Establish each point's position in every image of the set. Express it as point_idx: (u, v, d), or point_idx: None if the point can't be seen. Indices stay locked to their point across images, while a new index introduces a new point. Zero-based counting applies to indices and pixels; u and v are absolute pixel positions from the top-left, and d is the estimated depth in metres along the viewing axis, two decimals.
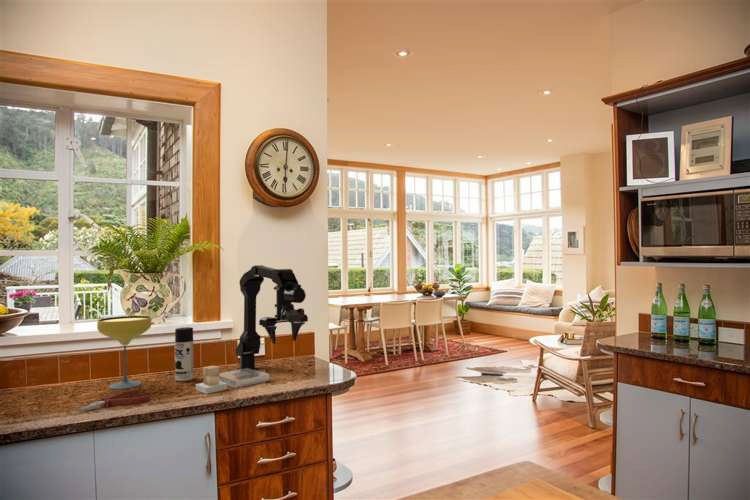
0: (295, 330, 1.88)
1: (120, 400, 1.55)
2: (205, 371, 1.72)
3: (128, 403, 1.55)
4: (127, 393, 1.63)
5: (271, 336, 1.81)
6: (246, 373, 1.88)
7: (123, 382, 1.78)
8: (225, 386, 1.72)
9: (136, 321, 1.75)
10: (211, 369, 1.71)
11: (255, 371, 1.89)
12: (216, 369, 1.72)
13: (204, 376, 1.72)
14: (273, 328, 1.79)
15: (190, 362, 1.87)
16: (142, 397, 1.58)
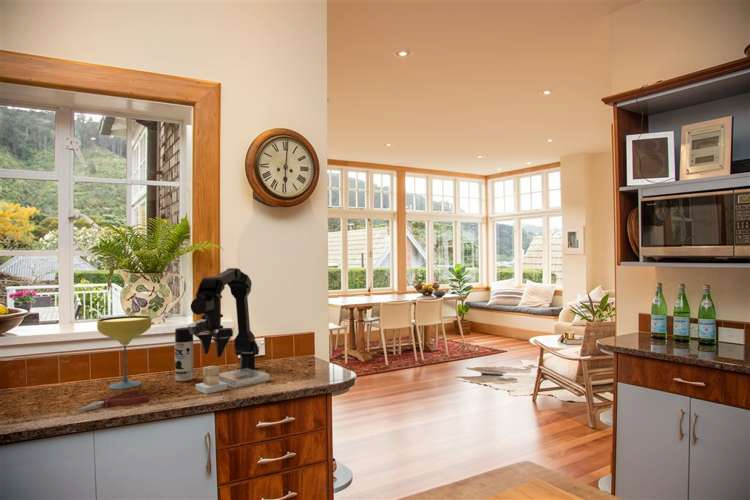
0: None
1: (119, 400, 1.54)
2: (205, 371, 1.72)
3: (127, 403, 1.55)
4: (126, 393, 1.63)
5: None
6: (246, 373, 1.88)
7: (123, 382, 1.78)
8: (225, 386, 1.72)
9: (136, 321, 1.75)
10: (211, 369, 1.71)
11: (255, 371, 1.89)
12: (216, 369, 1.72)
13: (204, 376, 1.72)
14: None
15: (190, 362, 1.87)
16: (141, 397, 1.57)
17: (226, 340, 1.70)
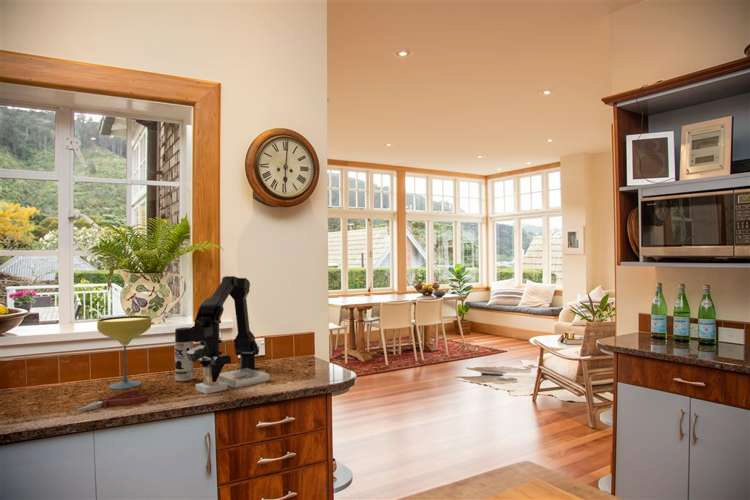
0: None
1: (118, 401, 1.54)
2: (205, 371, 1.72)
3: (126, 404, 1.55)
4: (125, 393, 1.63)
5: None
6: (246, 373, 1.88)
7: (123, 382, 1.78)
8: (225, 386, 1.72)
9: (136, 321, 1.75)
10: None
11: (255, 371, 1.89)
12: None
13: (204, 376, 1.72)
14: None
15: (190, 362, 1.87)
16: (140, 398, 1.57)
17: (221, 365, 1.71)
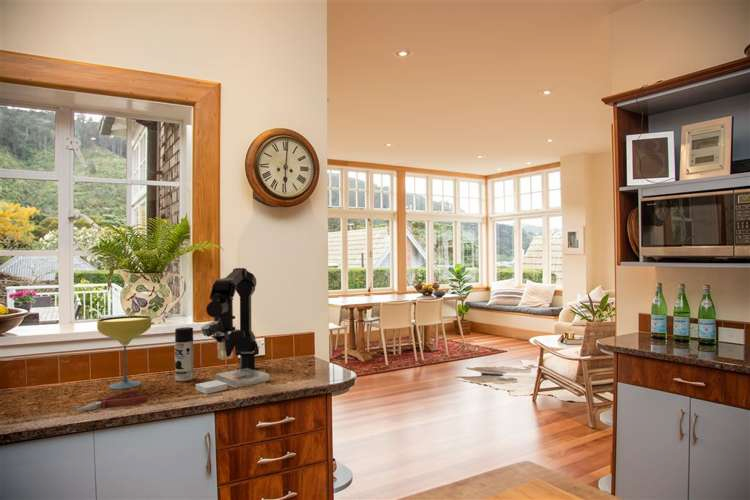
0: None
1: (117, 401, 1.54)
2: (219, 345, 1.77)
3: (125, 404, 1.54)
4: (124, 394, 1.63)
5: None
6: (246, 373, 1.88)
7: (123, 382, 1.78)
8: (225, 386, 1.72)
9: (136, 321, 1.75)
10: None
11: (255, 371, 1.89)
12: None
13: (218, 351, 1.78)
14: (214, 338, 1.79)
15: (190, 362, 1.87)
16: (139, 398, 1.57)
17: (235, 340, 1.77)
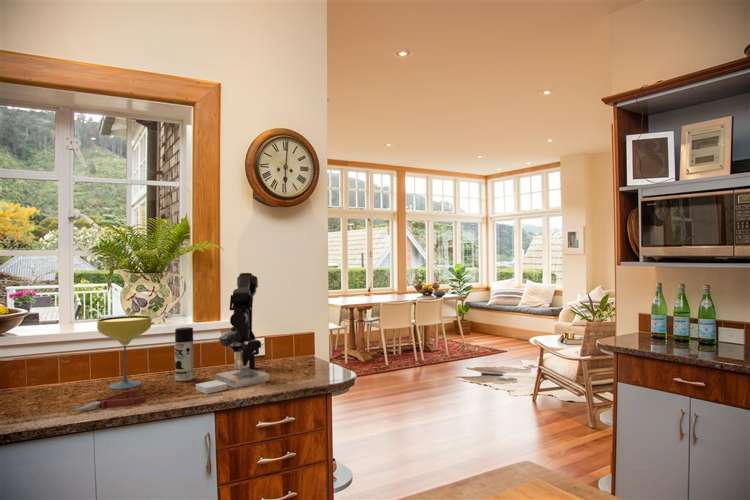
0: None
1: (116, 401, 1.54)
2: (236, 355, 1.84)
3: (124, 404, 1.54)
4: (123, 394, 1.63)
5: None
6: (246, 373, 1.88)
7: (123, 382, 1.78)
8: (225, 386, 1.72)
9: (136, 321, 1.75)
10: None
11: (255, 371, 1.89)
12: None
13: (235, 360, 1.84)
14: (230, 348, 1.86)
15: (190, 362, 1.87)
16: (138, 398, 1.57)
17: (251, 350, 1.83)
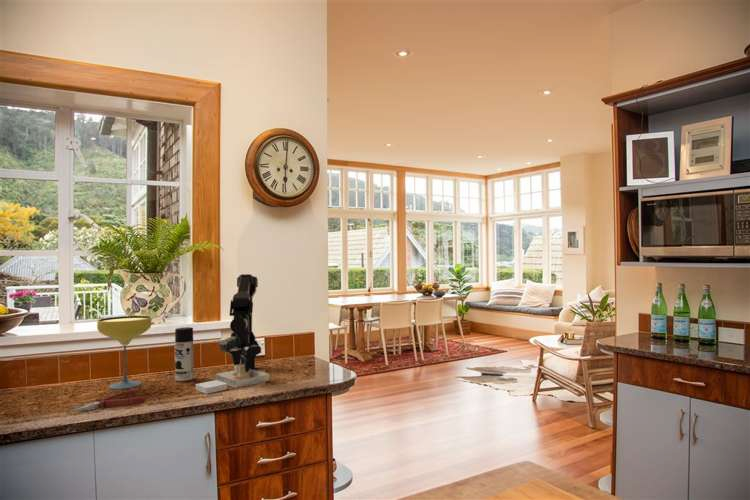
0: None
1: (115, 401, 1.54)
2: (236, 369, 1.84)
3: (123, 404, 1.54)
4: (123, 394, 1.62)
5: None
6: None
7: (123, 382, 1.78)
8: (225, 386, 1.72)
9: (136, 321, 1.75)
10: (242, 367, 1.83)
11: (255, 371, 1.89)
12: None
13: (235, 373, 1.84)
14: None
15: (190, 362, 1.87)
16: (137, 398, 1.57)
17: (253, 356, 1.82)
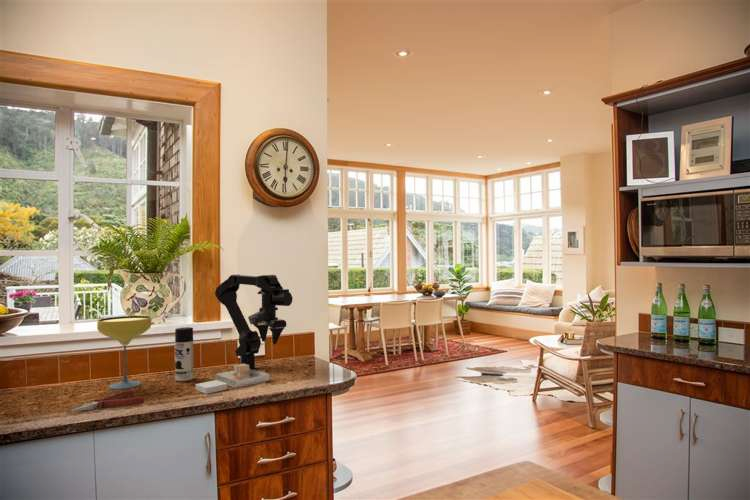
0: None
1: (113, 401, 1.53)
2: (236, 369, 1.84)
3: (121, 404, 1.54)
4: (121, 394, 1.62)
5: None
6: None
7: (123, 382, 1.78)
8: (225, 386, 1.72)
9: (136, 321, 1.75)
10: (242, 367, 1.83)
11: (255, 371, 1.89)
12: (246, 367, 1.84)
13: (235, 373, 1.84)
14: (256, 326, 2.02)
15: (190, 362, 1.87)
16: (136, 398, 1.56)
17: (280, 330, 1.95)
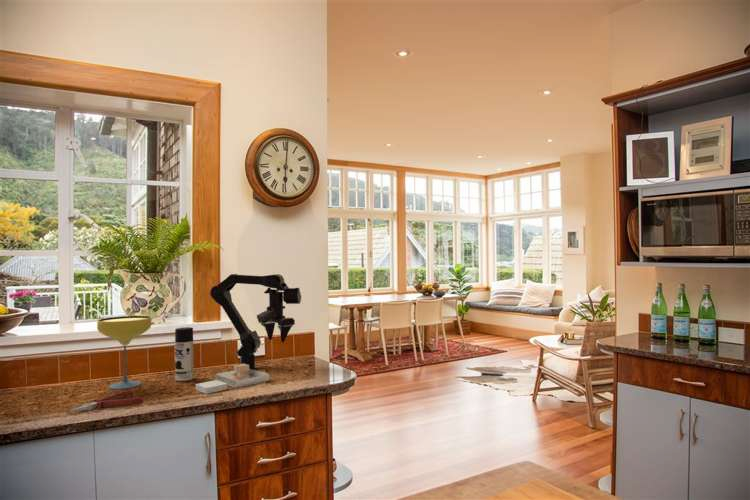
0: None
1: (112, 401, 1.53)
2: (236, 369, 1.84)
3: (120, 405, 1.54)
4: (120, 394, 1.62)
5: None
6: None
7: (123, 382, 1.78)
8: (225, 386, 1.72)
9: (136, 321, 1.75)
10: (242, 367, 1.83)
11: (255, 371, 1.89)
12: (246, 367, 1.84)
13: (235, 373, 1.84)
14: (263, 325, 2.06)
15: (190, 362, 1.87)
16: (135, 399, 1.56)
17: (289, 328, 2.00)
